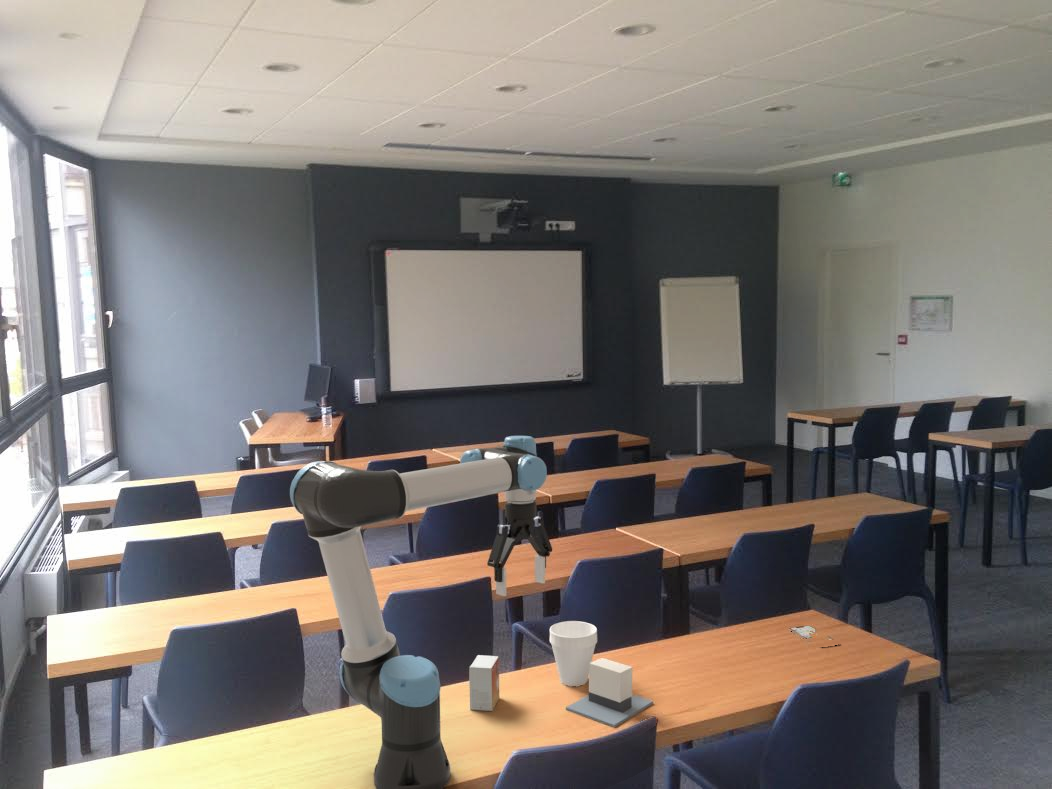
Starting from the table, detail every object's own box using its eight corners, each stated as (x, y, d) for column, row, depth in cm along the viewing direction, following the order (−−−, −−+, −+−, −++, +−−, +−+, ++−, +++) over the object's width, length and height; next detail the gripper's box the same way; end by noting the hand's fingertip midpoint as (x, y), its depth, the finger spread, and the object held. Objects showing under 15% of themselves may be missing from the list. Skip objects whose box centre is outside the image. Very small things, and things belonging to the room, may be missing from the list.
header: (614, 727, 187) (613, 697, 187) (565, 709, 196) (565, 680, 196) (653, 703, 199) (653, 675, 199) (605, 687, 208) (605, 660, 208)
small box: (492, 712, 196) (491, 668, 195) (469, 710, 197) (468, 667, 196) (500, 697, 204) (499, 655, 203) (478, 695, 205) (477, 654, 204)
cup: (606, 686, 209) (605, 633, 208) (561, 694, 205) (561, 640, 204) (585, 668, 221) (584, 618, 220) (542, 675, 216) (541, 624, 215)
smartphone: (819, 647, 232) (788, 628, 247) (819, 651, 233) (787, 631, 247) (841, 644, 235) (809, 625, 249) (841, 648, 235) (809, 628, 249)
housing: (619, 702, 193) (620, 672, 192) (588, 691, 199) (589, 663, 198) (632, 696, 196) (632, 667, 196) (601, 685, 202) (601, 657, 202)
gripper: (494, 510, 186) (495, 603, 187) (566, 495, 204) (566, 580, 206) (471, 506, 191) (472, 597, 193) (543, 491, 209) (543, 574, 211)
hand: (521, 588), depth 199 cm, fingers open, 13 cm apart
